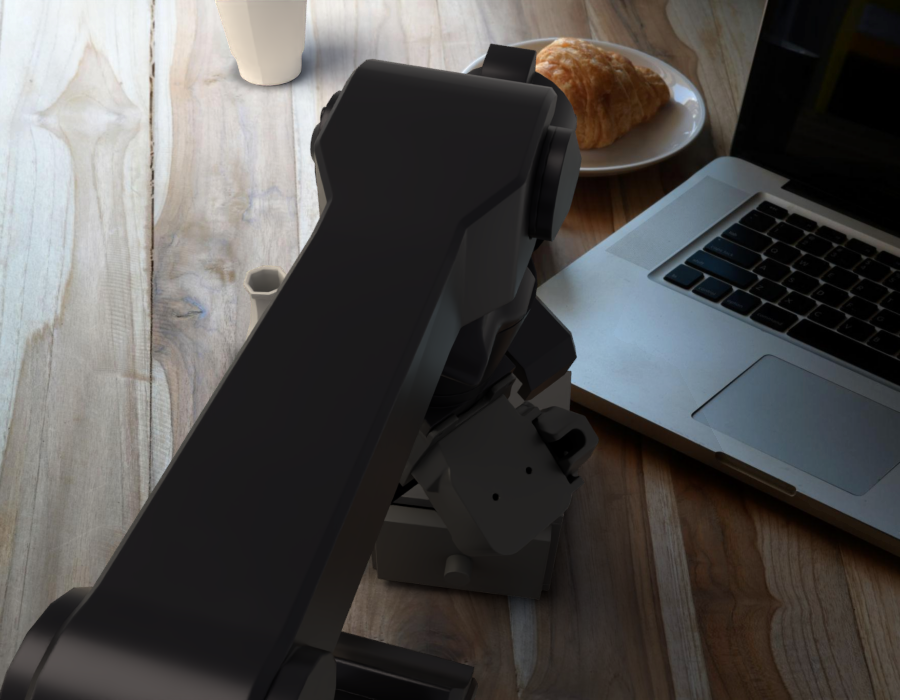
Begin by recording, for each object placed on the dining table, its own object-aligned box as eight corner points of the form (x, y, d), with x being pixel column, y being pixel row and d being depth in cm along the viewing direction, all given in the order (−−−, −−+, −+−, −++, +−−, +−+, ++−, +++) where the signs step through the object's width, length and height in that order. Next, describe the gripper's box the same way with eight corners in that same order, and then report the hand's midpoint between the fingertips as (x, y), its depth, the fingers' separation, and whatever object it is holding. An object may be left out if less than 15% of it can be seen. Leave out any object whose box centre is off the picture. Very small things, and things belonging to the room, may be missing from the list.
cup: (332, 47, 108) (322, -95, 97) (311, 101, 100) (297, -48, 89) (232, 40, 109) (210, -103, 98) (203, 93, 101) (175, -56, 89)
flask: (240, 418, 70) (218, 323, 62) (229, 351, 74) (208, 254, 67) (335, 400, 71) (326, 305, 64) (319, 335, 76) (308, 239, 69)
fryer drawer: (538, 617, 58) (549, 559, 53) (373, 595, 59) (369, 536, 54) (549, 467, 66) (559, 404, 61) (404, 449, 67) (402, 386, 62)
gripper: (383, 639, 31) (329, 712, 44) (714, 363, 40) (587, 492, 53) (192, 394, 34) (194, 532, 47) (542, 187, 43) (461, 351, 56)
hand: (374, 476), depth 51 cm, fingers closed
